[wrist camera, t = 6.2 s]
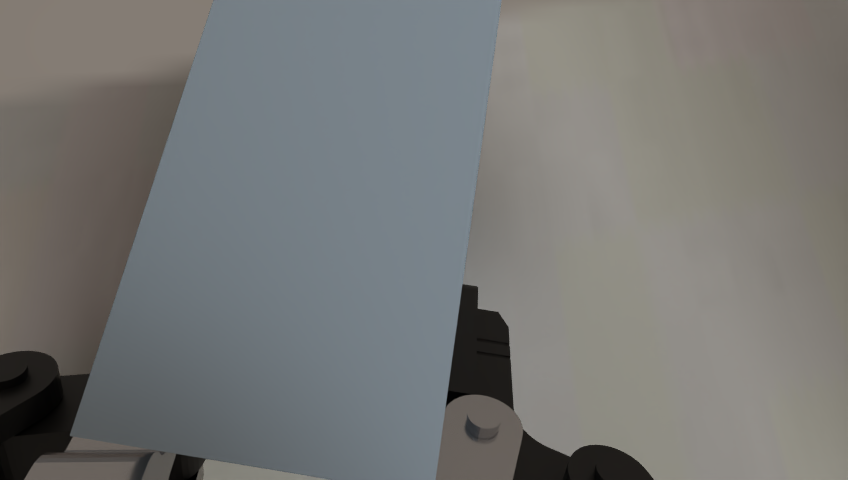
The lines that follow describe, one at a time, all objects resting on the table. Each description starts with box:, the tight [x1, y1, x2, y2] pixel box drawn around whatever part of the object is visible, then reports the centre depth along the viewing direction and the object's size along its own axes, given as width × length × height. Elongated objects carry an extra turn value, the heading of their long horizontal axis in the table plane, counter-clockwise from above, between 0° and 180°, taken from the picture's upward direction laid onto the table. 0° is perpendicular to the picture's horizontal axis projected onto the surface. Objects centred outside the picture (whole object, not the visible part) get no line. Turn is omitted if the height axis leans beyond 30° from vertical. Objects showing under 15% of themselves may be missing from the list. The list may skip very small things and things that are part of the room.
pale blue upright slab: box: [70, 0, 501, 480], centre depth 12 cm, size 4×8×12 cm, turn 171°
